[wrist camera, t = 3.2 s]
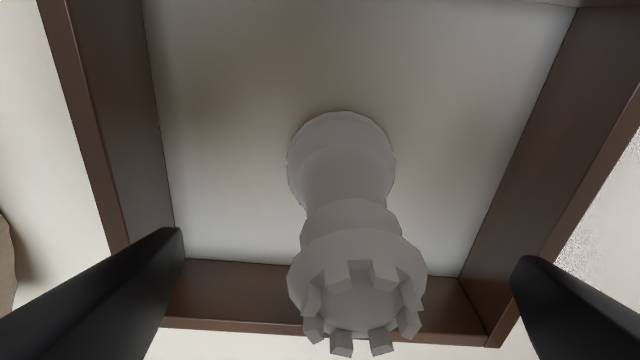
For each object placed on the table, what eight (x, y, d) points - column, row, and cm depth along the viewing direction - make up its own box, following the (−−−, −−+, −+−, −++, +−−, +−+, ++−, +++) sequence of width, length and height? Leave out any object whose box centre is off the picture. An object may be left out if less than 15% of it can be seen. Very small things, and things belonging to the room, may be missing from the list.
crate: (613, -17, 10) (739, -30, 7) (467, 288, 17) (500, 348, 14) (101, -84, 9) (-6, -132, 6) (166, 267, 16) (131, 326, 13)
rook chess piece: (396, 189, 14) (476, 365, 7) (303, 210, 15) (290, 393, 8) (381, 94, 12) (471, 210, 5) (273, 122, 12) (215, 263, 5)
